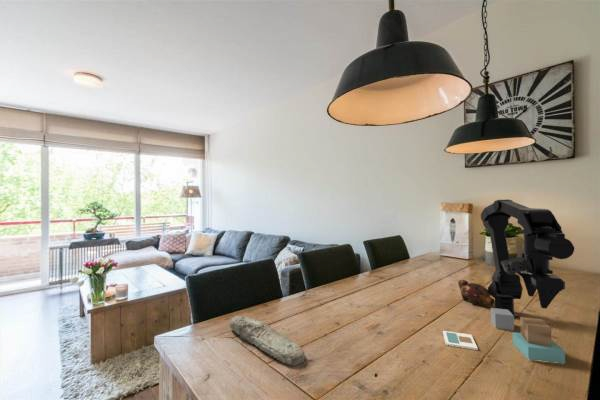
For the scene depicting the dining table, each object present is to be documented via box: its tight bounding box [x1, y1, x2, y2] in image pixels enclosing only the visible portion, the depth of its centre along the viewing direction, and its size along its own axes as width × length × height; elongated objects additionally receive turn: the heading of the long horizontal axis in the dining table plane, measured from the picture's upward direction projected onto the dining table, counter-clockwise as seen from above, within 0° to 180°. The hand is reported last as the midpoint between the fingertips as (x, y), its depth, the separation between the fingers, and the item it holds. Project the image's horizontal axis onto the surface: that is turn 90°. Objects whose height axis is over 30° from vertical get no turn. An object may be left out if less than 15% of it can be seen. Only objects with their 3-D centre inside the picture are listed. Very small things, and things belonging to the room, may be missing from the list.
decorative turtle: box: [457, 279, 495, 306], centre depth 110 cm, size 10×15×8 cm, turn 22°
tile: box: [442, 330, 479, 351], centre depth 81 cm, size 8×8×1 cm
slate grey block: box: [490, 307, 515, 331], centre depth 89 cm, size 5×5×5 cm
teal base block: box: [512, 331, 566, 364], centre depth 73 cm, size 8×8×4 cm
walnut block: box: [519, 316, 552, 346], centre depth 74 cm, size 5×5×5 cm
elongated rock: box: [229, 315, 306, 366], centre depth 84 cm, size 35×5×10 cm
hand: (537, 301), depth 80 cm, fingers open, 9 cm apart
